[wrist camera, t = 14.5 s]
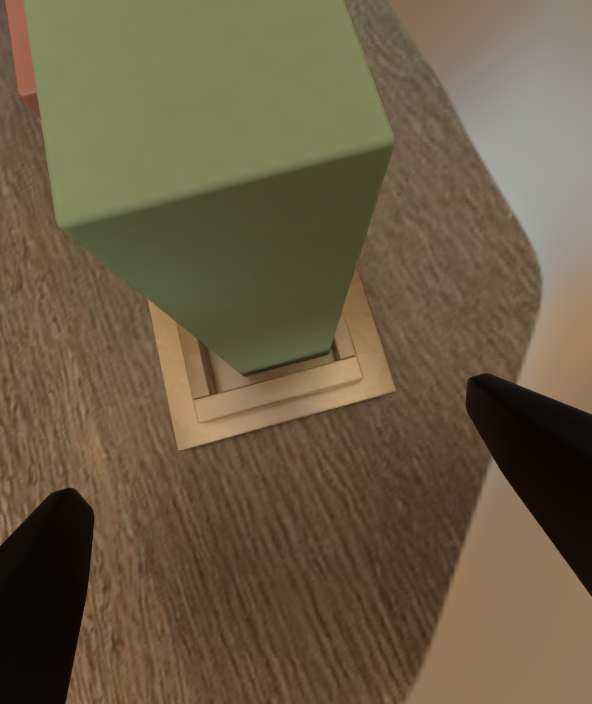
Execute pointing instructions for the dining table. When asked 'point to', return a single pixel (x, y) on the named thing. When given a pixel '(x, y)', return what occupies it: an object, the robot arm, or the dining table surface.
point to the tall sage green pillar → (216, 159)
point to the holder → (222, 379)
